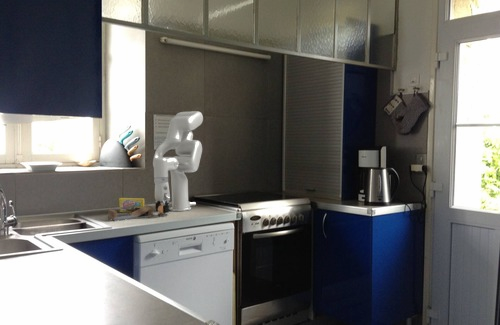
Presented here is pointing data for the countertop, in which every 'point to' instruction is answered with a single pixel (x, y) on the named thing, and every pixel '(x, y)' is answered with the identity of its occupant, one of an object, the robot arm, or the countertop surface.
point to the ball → (160, 209)
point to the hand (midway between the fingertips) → (162, 211)
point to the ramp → (144, 210)
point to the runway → (126, 216)
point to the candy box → (130, 204)
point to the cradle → (162, 214)
